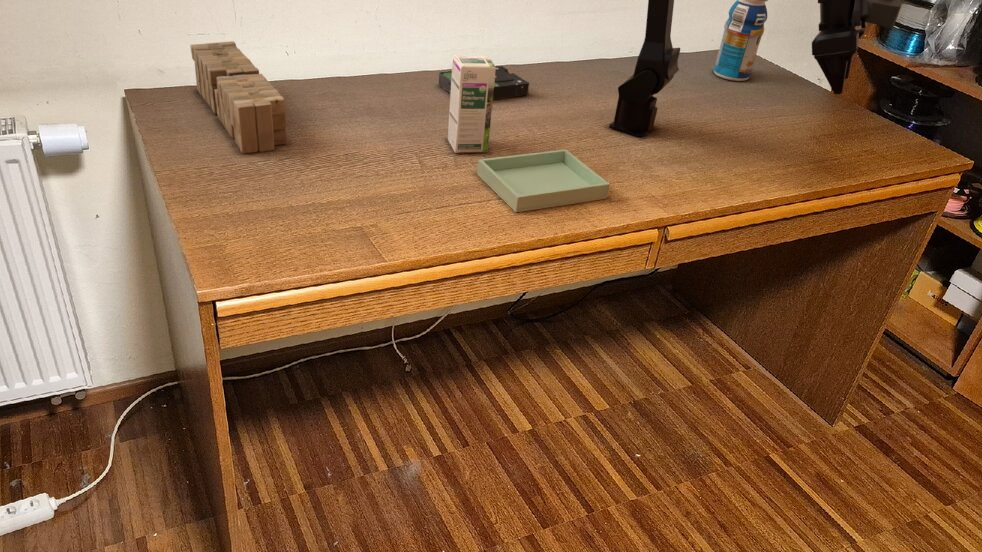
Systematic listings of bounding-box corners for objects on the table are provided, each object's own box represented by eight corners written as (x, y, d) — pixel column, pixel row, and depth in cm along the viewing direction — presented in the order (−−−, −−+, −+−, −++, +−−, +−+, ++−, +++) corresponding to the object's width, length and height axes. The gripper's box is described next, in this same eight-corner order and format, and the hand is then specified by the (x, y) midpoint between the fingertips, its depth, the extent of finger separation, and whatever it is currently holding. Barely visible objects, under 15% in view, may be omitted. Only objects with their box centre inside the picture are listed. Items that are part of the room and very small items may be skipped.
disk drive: (499, 79, 164) (437, 85, 157) (501, 65, 162) (438, 71, 155) (528, 96, 157) (464, 104, 150) (530, 82, 156) (465, 89, 148)
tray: (515, 212, 117) (517, 197, 116) (476, 174, 126) (478, 159, 125) (607, 198, 124) (610, 184, 122) (563, 163, 133) (566, 149, 132)
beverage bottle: (707, 68, 183) (731, -25, 171) (742, 70, 184) (769, -22, 172) (718, 80, 177) (744, -16, 165) (754, 83, 177) (783, -12, 166)
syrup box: (454, 154, 132) (461, 65, 123) (446, 139, 136) (452, 53, 127) (487, 153, 133) (497, 66, 125) (478, 138, 138) (487, 53, 129)
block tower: (290, 153, 128) (238, 84, 147) (288, 102, 123) (235, 37, 142) (240, 159, 124) (194, 87, 143) (236, 107, 119) (189, 40, 138)
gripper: (894, -16, 111) (893, 96, 118) (901, -36, 125) (900, 65, 132) (809, -2, 117) (813, 104, 124) (825, -23, 131) (828, 74, 138)
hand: (841, 86), depth 129 cm, fingers open, 9 cm apart
